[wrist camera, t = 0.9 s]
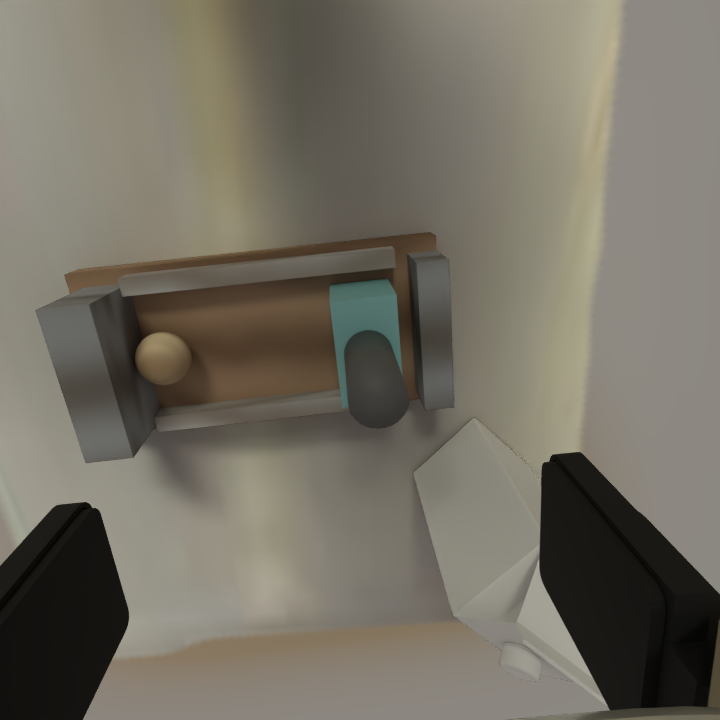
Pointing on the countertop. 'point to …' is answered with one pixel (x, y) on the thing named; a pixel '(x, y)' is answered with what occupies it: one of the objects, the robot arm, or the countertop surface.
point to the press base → (234, 337)
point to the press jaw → (369, 351)
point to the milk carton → (496, 554)
